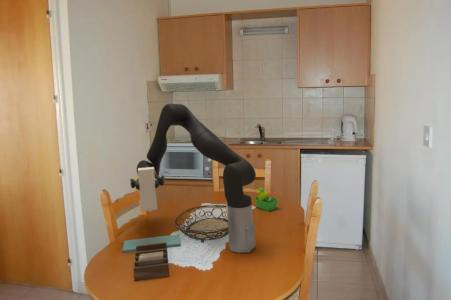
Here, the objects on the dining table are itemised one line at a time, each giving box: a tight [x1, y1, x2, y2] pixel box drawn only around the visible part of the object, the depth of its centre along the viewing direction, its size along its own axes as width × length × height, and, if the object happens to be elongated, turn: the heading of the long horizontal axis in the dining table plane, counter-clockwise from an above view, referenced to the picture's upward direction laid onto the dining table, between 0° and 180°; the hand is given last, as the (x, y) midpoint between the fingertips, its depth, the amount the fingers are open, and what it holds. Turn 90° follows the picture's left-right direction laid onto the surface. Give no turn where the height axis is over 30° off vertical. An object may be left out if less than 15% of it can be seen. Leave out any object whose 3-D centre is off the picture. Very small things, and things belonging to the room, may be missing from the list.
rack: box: [133, 242, 170, 282], centre depth 130 cm, size 19×11×5 cm, turn 11°
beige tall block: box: [137, 167, 158, 212], centre depth 146 cm, size 4×6×16 cm, turn 101°
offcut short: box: [140, 251, 163, 256], centre depth 132 cm, size 2×8×4 cm, turn 101°
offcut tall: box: [138, 256, 164, 267], centre depth 123 cm, size 2×8×6 cm, turn 101°
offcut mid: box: [139, 253, 163, 258], centre depth 127 cm, size 2×8×4 cm, turn 101°
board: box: [121, 234, 182, 254], centre depth 149 cm, size 10×22×2 cm, turn 101°
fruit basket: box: [253, 187, 279, 212], centre depth 190 cm, size 11×9×11 cm
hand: (147, 186), depth 143 cm, fingers closed on beige tall block, 6 cm apart
